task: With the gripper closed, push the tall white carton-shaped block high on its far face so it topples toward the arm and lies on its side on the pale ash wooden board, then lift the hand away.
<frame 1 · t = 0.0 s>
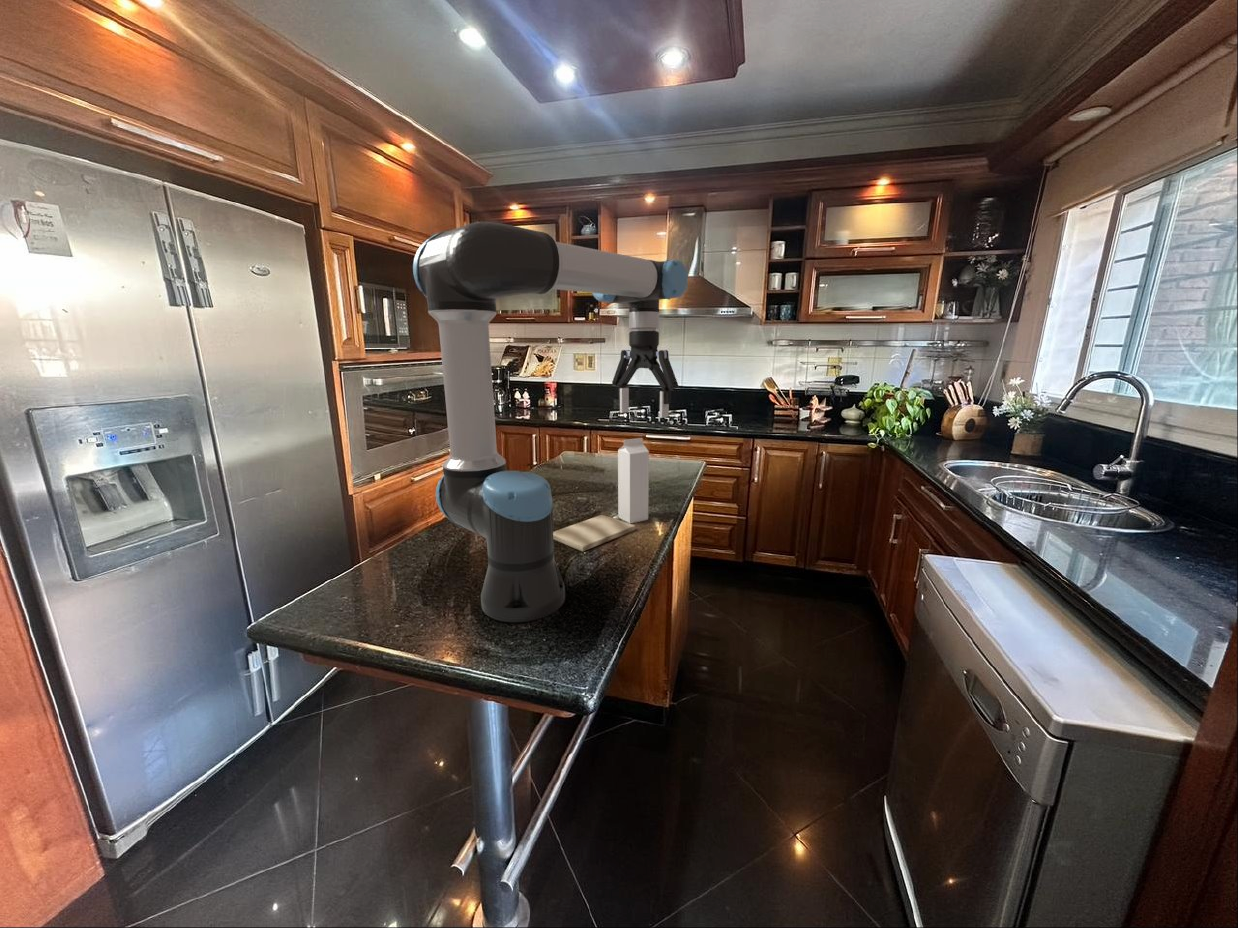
hand: (643, 414, 125), 28 cm above the worktop, tool pointing down, fingers open, 13 cm apart
white carton-shaped block: (633, 518, 130), on the worktop
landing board: (593, 533, 120), on the worktop
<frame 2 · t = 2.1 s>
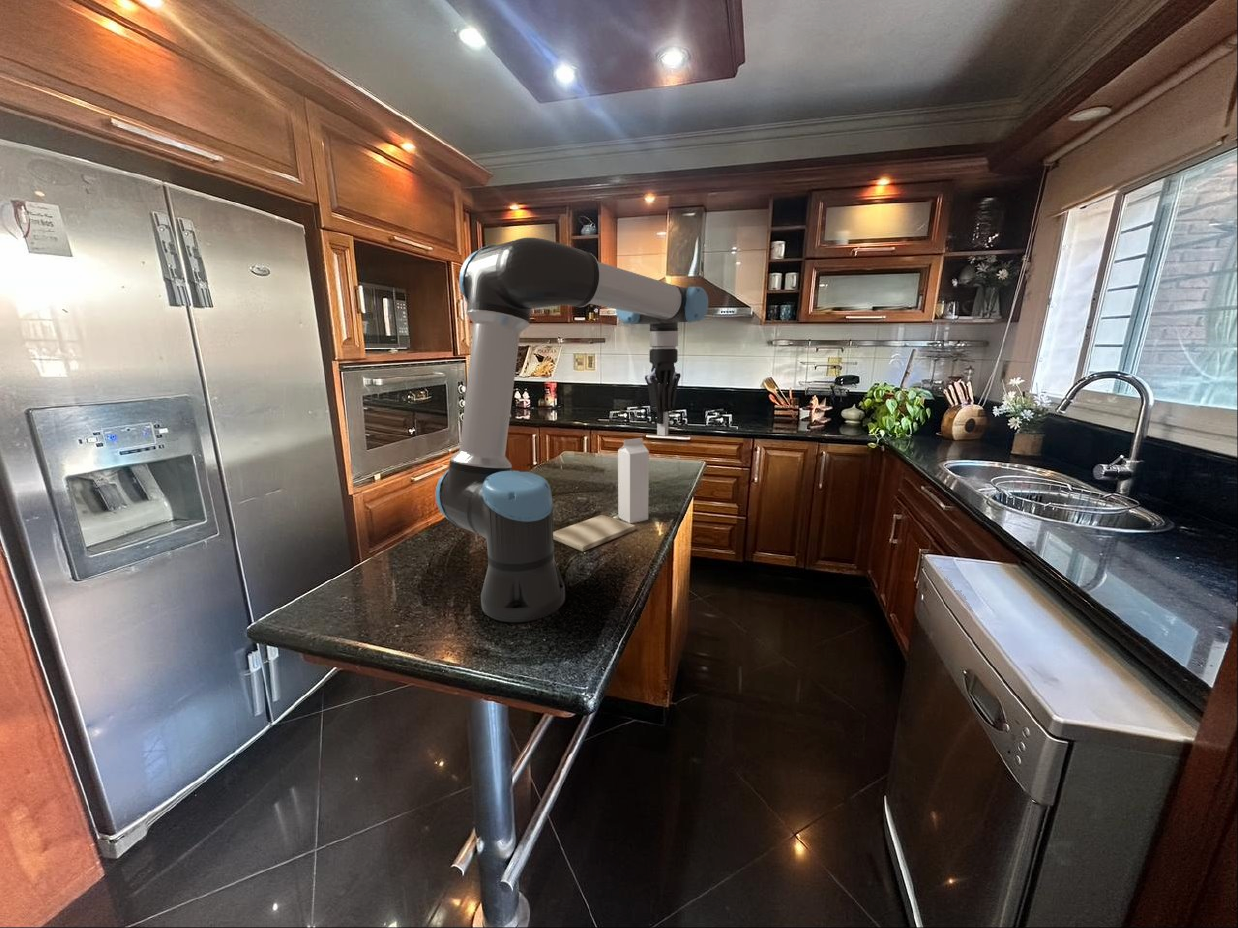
hand: (662, 434, 134), 21 cm above the worktop, tool pointing down, fingers closed
nothing on the worktop moved.
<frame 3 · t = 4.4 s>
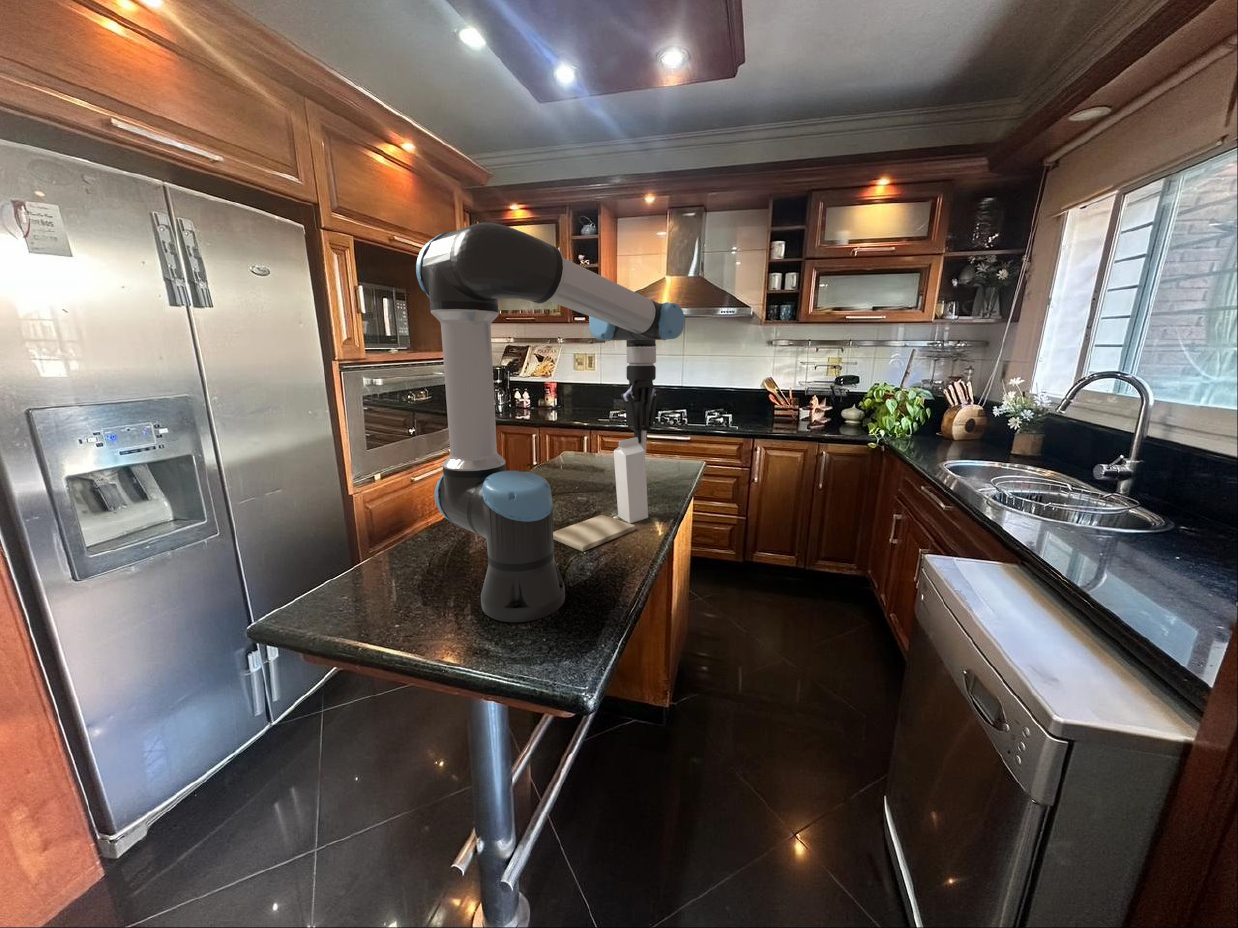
hand: (640, 454, 128), 17 cm above the worktop, tool pointing down, fingers closed
white carton-shaped block: (633, 517, 130), on the worktop, touching gripper
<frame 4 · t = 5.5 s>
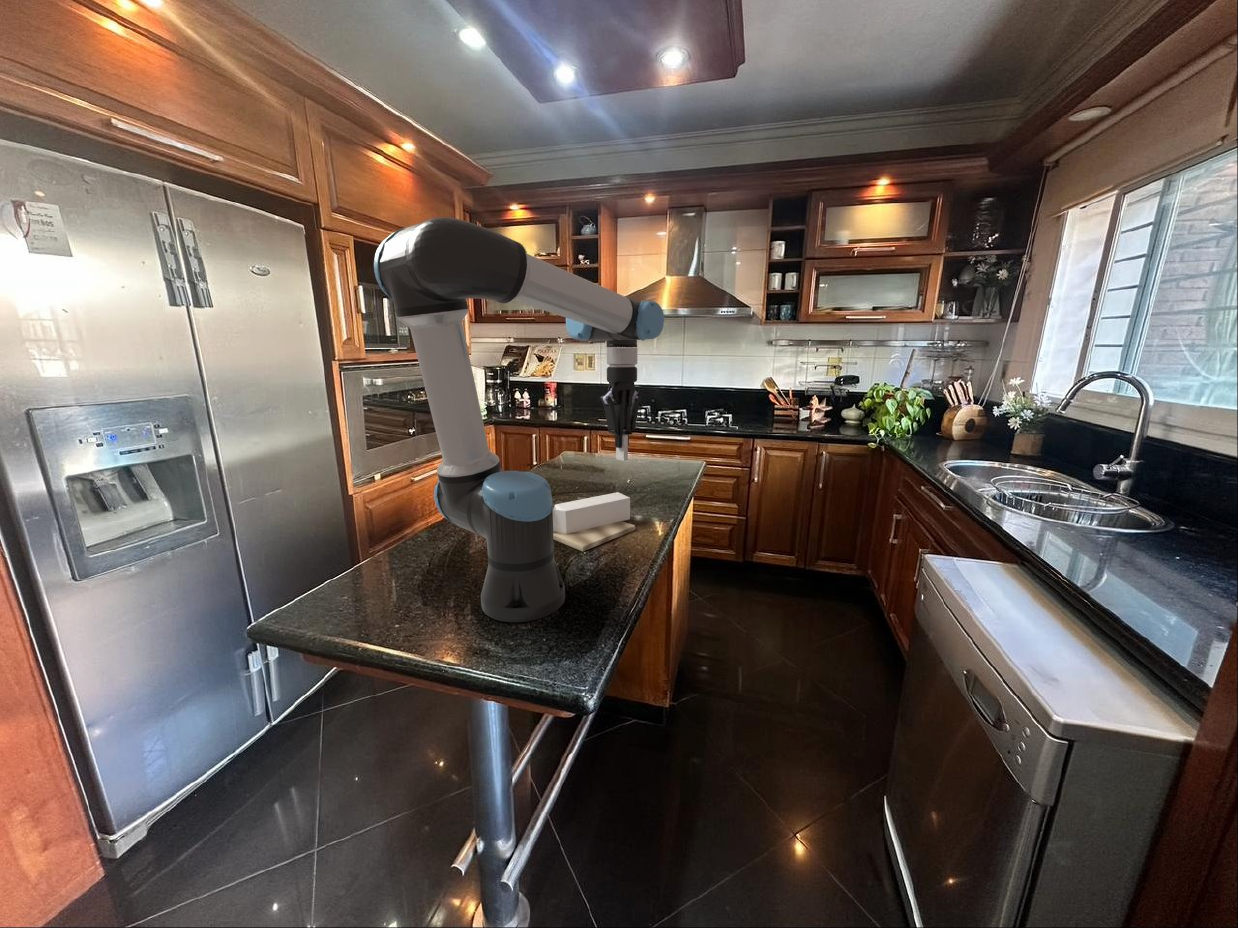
hand: (621, 459, 123), 17 cm above the worktop, tool pointing down, fingers closed
white carton-shaped block: (624, 505, 128), point 4 cm above the worktop, touching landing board
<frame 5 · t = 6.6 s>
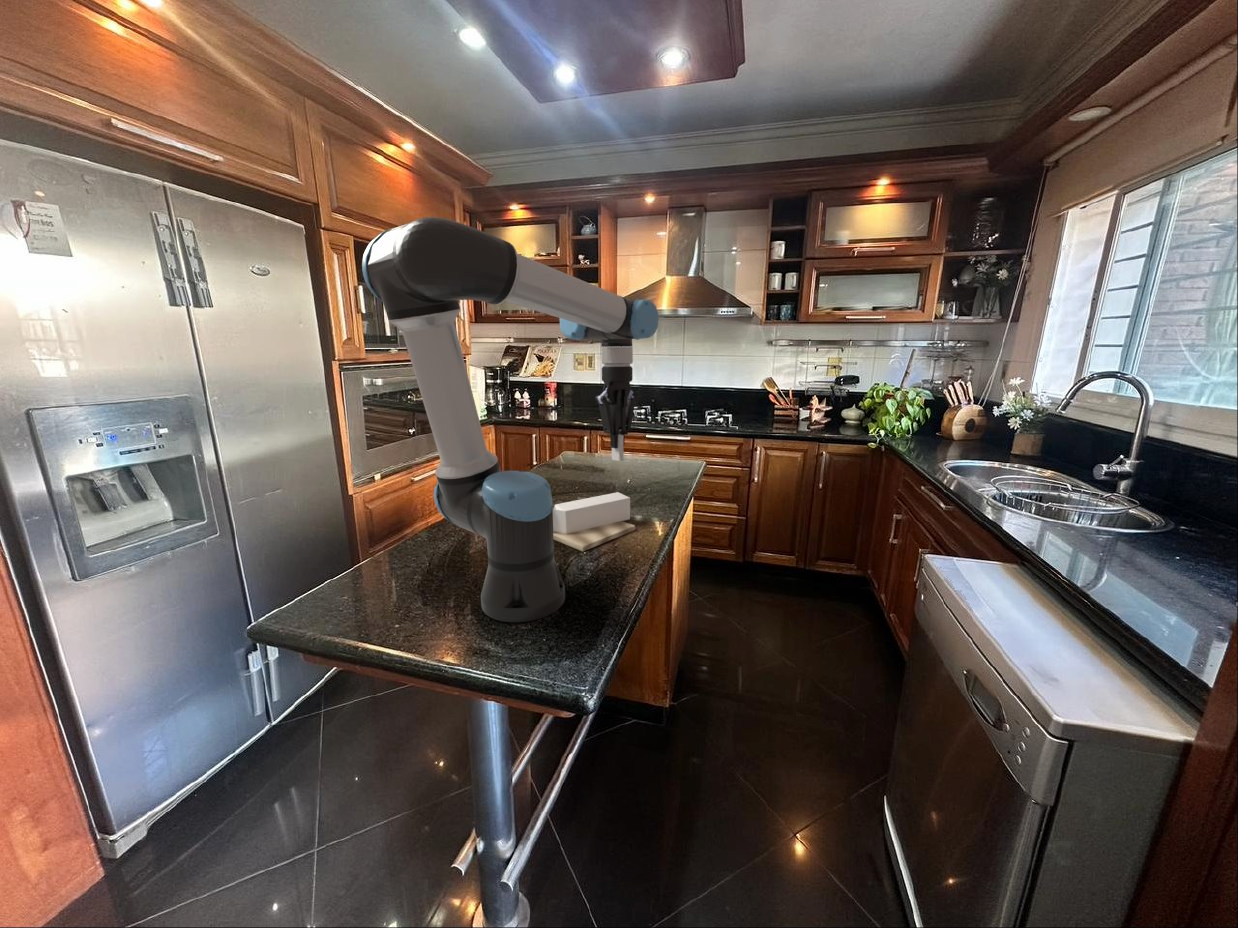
hand: (617, 459, 122), 17 cm above the worktop, tool pointing down, fingers closed
nothing on the worktop moved.
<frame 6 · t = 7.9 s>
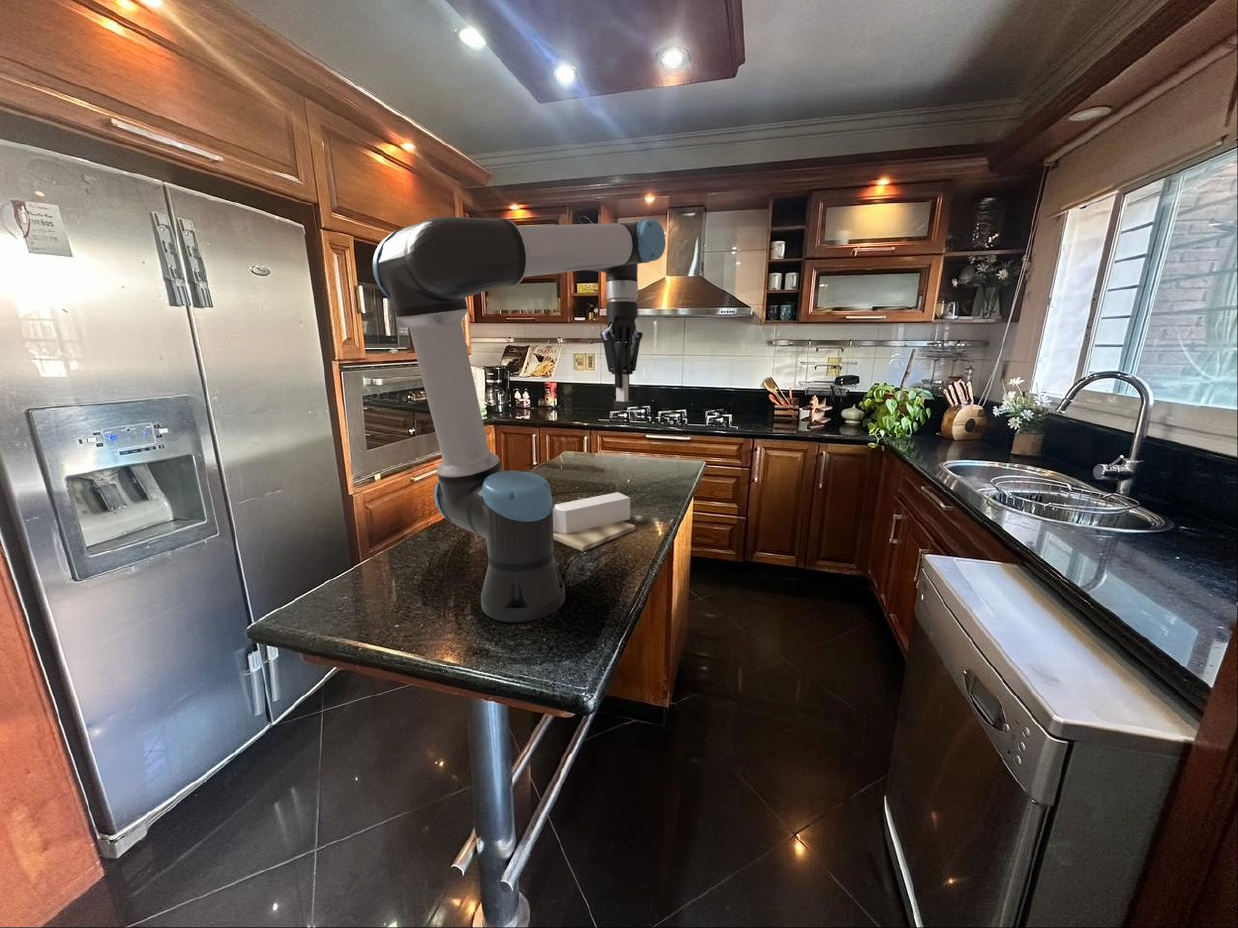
hand: (622, 400, 119), 32 cm above the worktop, tool pointing down, fingers closed
nothing on the worktop moved.
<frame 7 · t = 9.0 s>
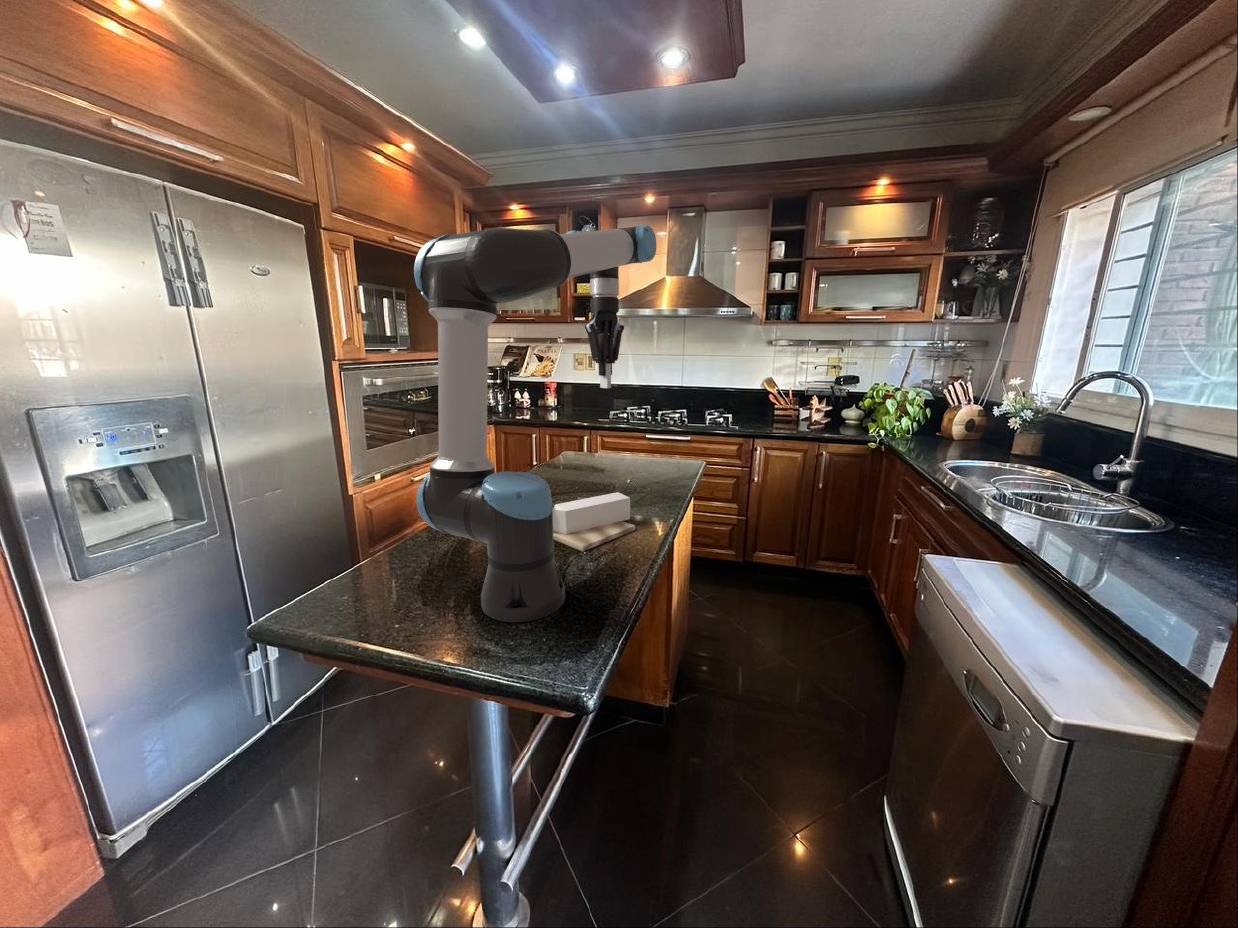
hand: (605, 387, 131), 34 cm above the worktop, tool pointing down, fingers closed
nothing on the worktop moved.
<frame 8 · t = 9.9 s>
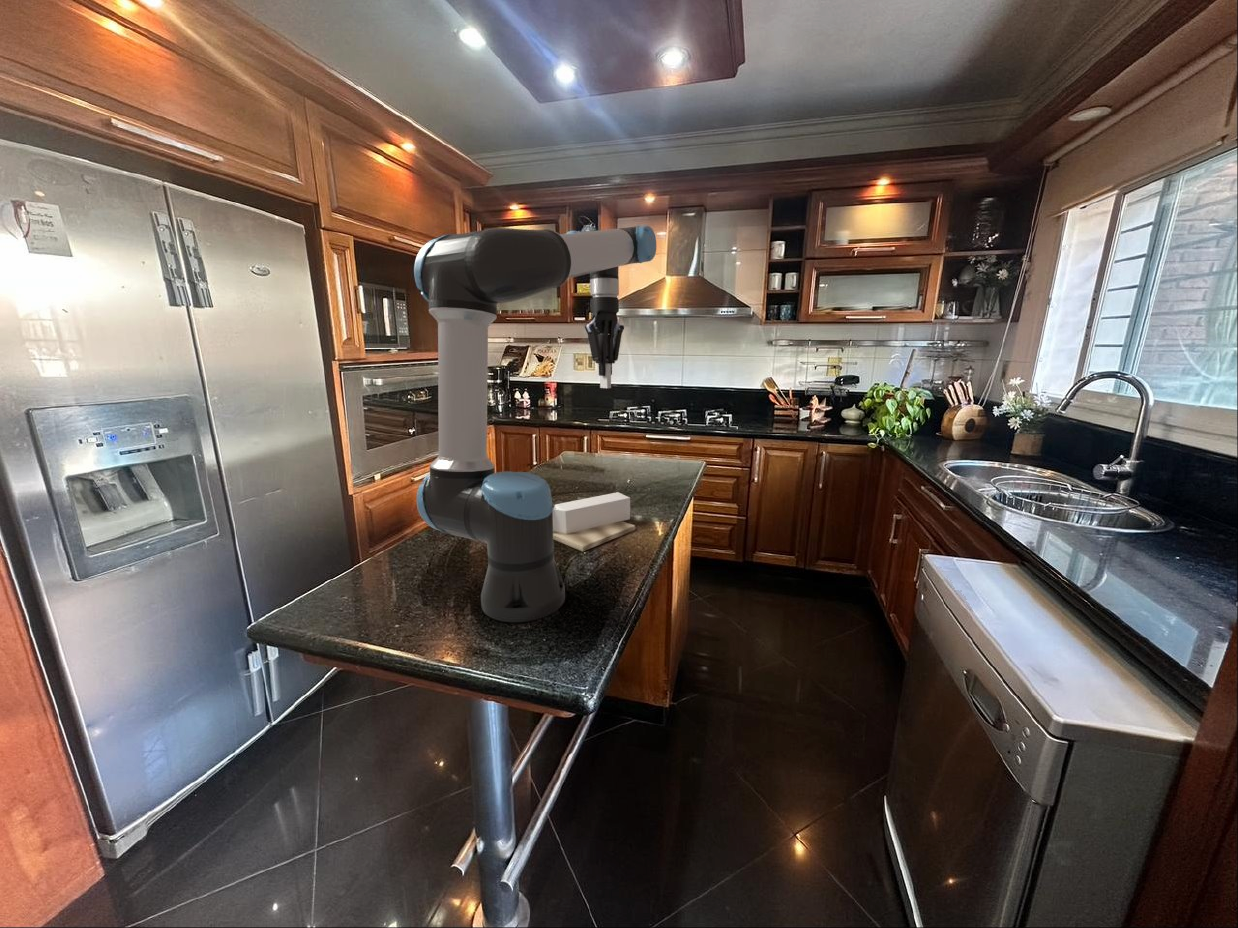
hand: (605, 387, 131), 34 cm above the worktop, tool pointing down, fingers closed
nothing on the worktop moved.
at the end: white carton-shaped block tilted 90°; white carton-shaped block touching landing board; white carton-shaped block inside the target area (0.9 cm from its centre), point 4.2 cm above the worktop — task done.
